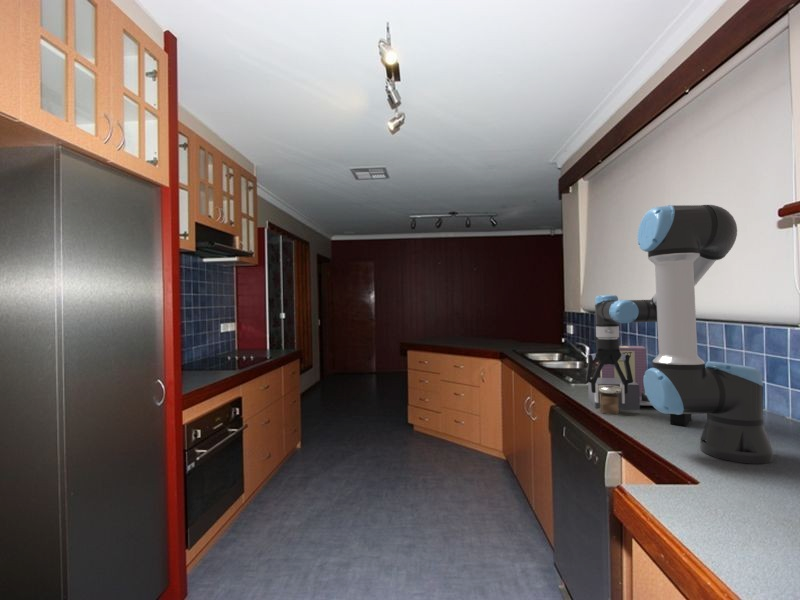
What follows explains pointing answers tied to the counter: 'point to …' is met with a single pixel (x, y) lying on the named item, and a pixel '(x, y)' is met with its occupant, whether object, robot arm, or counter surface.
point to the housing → (630, 398)
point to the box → (636, 365)
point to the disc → (609, 389)
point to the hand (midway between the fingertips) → (609, 402)
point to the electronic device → (680, 419)
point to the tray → (644, 399)
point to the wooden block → (609, 403)
